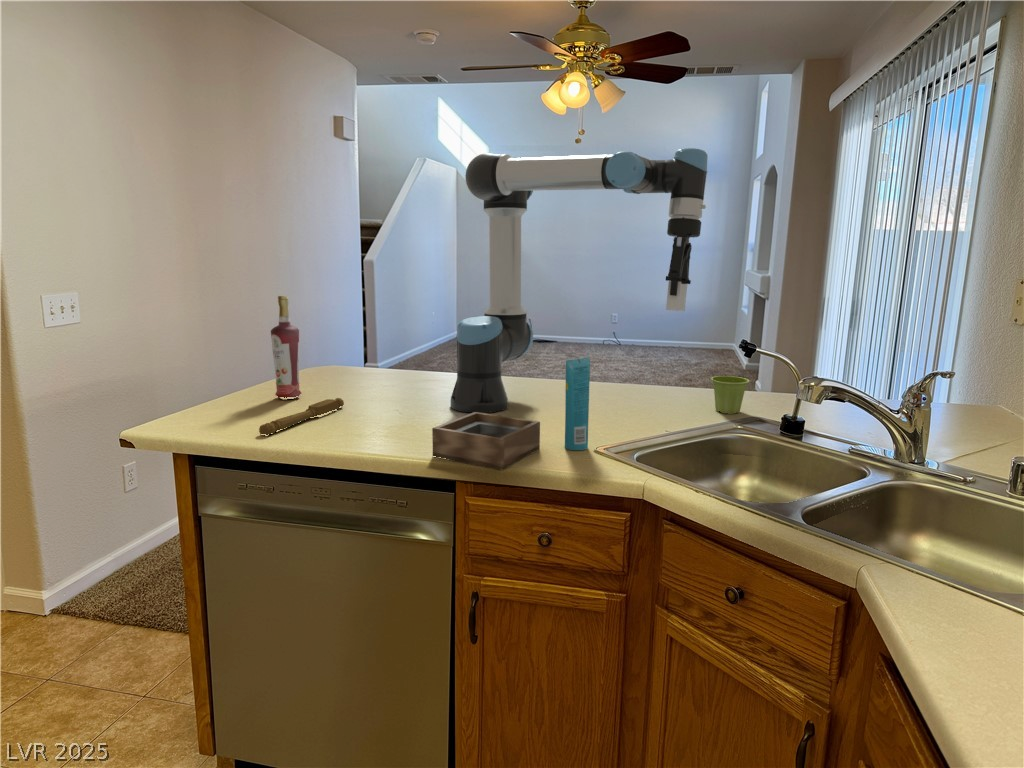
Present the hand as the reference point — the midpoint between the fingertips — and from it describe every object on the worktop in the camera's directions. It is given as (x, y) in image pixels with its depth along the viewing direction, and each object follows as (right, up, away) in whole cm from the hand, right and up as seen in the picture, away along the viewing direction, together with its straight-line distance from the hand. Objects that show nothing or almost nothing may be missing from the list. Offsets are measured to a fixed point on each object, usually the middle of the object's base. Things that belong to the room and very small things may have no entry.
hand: (675, 310), depth 161 cm
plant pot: (+18, -25, +17) cm, 35 cm away
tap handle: (-88, -27, +3) cm, 93 cm away
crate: (-44, -32, -21) cm, 58 cm away
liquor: (-100, -22, +26) cm, 106 cm away
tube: (-25, -31, -17) cm, 43 cm away
